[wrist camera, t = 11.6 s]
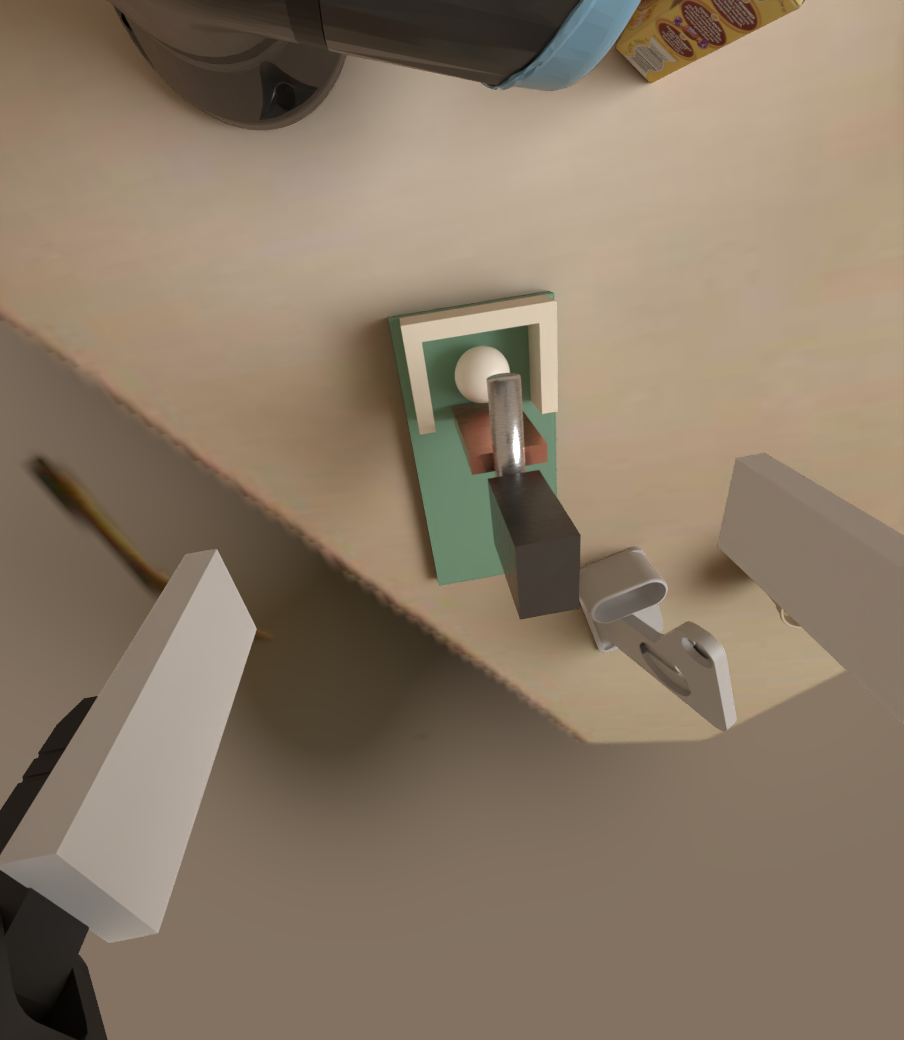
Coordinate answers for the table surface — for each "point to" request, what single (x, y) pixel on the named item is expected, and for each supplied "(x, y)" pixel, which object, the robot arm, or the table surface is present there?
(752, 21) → the candy box
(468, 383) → the ball
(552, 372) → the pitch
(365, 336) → the table surface
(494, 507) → the multicoloured piece
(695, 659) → the phone holder
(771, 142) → the table surface
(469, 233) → the table surface
